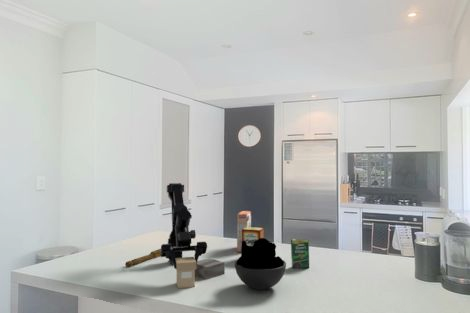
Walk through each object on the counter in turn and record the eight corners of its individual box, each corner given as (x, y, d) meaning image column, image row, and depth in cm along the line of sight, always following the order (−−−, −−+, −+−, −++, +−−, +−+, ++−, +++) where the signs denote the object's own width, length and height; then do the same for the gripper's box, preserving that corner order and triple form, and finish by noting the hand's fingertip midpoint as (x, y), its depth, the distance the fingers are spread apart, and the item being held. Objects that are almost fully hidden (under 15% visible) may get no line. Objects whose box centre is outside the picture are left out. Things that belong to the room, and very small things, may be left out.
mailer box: (176, 283, 144) (176, 260, 144) (192, 281, 145) (192, 259, 146) (178, 288, 137) (178, 265, 138) (194, 286, 139) (194, 264, 139)
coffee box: (292, 268, 163) (292, 240, 163) (290, 266, 166) (290, 238, 166) (309, 268, 163) (309, 239, 163) (308, 266, 166) (307, 238, 166)
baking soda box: (242, 260, 176) (241, 228, 176) (246, 257, 182) (246, 226, 182) (260, 262, 173) (260, 229, 173) (263, 259, 179) (263, 227, 179)
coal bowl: (288, 281, 145) (287, 235, 146) (283, 300, 126) (283, 247, 126) (240, 278, 150) (240, 233, 150) (229, 295, 130) (229, 244, 131)
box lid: (174, 265, 144) (174, 258, 144) (193, 263, 146) (193, 256, 146) (176, 271, 137) (176, 263, 137) (196, 269, 139) (196, 261, 139)
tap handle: (124, 261, 166) (164, 247, 193) (124, 267, 166) (164, 252, 193) (129, 262, 165) (169, 247, 192) (129, 268, 165) (169, 253, 192)
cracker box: (247, 253, 191) (247, 214, 191) (236, 252, 192) (236, 213, 192) (251, 246, 205) (251, 210, 205) (241, 246, 206) (241, 210, 206)
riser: (192, 273, 156) (192, 262, 156) (210, 268, 162) (210, 258, 163) (206, 279, 148) (206, 267, 148) (224, 273, 155) (224, 262, 155)
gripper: (161, 224, 143) (163, 259, 132) (206, 222, 148) (211, 255, 137) (159, 239, 151) (161, 273, 140) (203, 237, 156) (207, 269, 145)
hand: (185, 267), depth 140 cm, fingers closed on box lid, 8 cm apart
